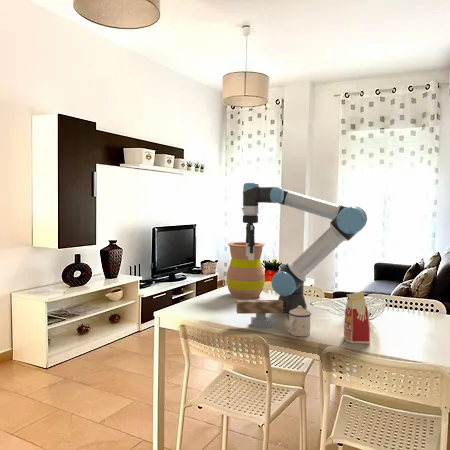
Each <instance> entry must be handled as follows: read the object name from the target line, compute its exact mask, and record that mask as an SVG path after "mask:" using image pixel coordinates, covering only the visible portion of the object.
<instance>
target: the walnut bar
mask: <svg viewBox="0 0 450 450" xmlns="http://www.w3.org/2000/svg"><path fill="white" fill-rule="evenodd" d="M260 313H266V314H284V312H283V301H282V300H278V299H236V314H240V315H241V314H243V315H244V314H248V315H249V314H254V315H256V314H260Z"/></svg>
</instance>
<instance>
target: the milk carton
mask: <svg viewBox="0 0 450 450" xmlns="http://www.w3.org/2000/svg"><path fill="white" fill-rule="evenodd" d="M346 296H347V300H346V306H345V312H344V313H345V314H344V324H343V337H344V340H345V341H346V342H349V343H350V344H367V345H368V344H371V325H370V315H369V310H368V306H367V302H366V299H365V290H364V289H362V290H361V291H357V292H354V293H348V294H346Z"/></svg>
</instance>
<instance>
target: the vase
mask: <svg viewBox="0 0 450 450" xmlns="http://www.w3.org/2000/svg"><path fill="white" fill-rule="evenodd" d="M227 245H228V246H229V252H230V257H231V260H230V264H229V266H228V269H227V272H226V286H227V289H228V292H229V293H230V296H231V297H232V298H235V299H238V300H255V299H257V298H259V297H260V295H261V294H262V293H263V292H262V291H263V290H264V287H265V282H266V278H265V277H266V276H265V271H264V268H263V265H262V262H261V258H262V255H263V254H262V253H263V247H264V246H265V243H263V242H262V243H261V242H256V241H255V246H254V260H248V256H246V241H233V242H228V243H227Z"/></svg>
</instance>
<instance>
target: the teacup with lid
mask: <svg viewBox="0 0 450 450" xmlns="http://www.w3.org/2000/svg"><path fill="white" fill-rule="evenodd" d="M311 316H312V313H311V311H310V310H308V309H307V310H305V309H304V308H302V306H300V305H299V306H298V308H295V309H293V310H290V311H289V313H288V317H289V318H288V333H289V334H290V335H292V336H295V337H308V336H310V335H311Z"/></svg>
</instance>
